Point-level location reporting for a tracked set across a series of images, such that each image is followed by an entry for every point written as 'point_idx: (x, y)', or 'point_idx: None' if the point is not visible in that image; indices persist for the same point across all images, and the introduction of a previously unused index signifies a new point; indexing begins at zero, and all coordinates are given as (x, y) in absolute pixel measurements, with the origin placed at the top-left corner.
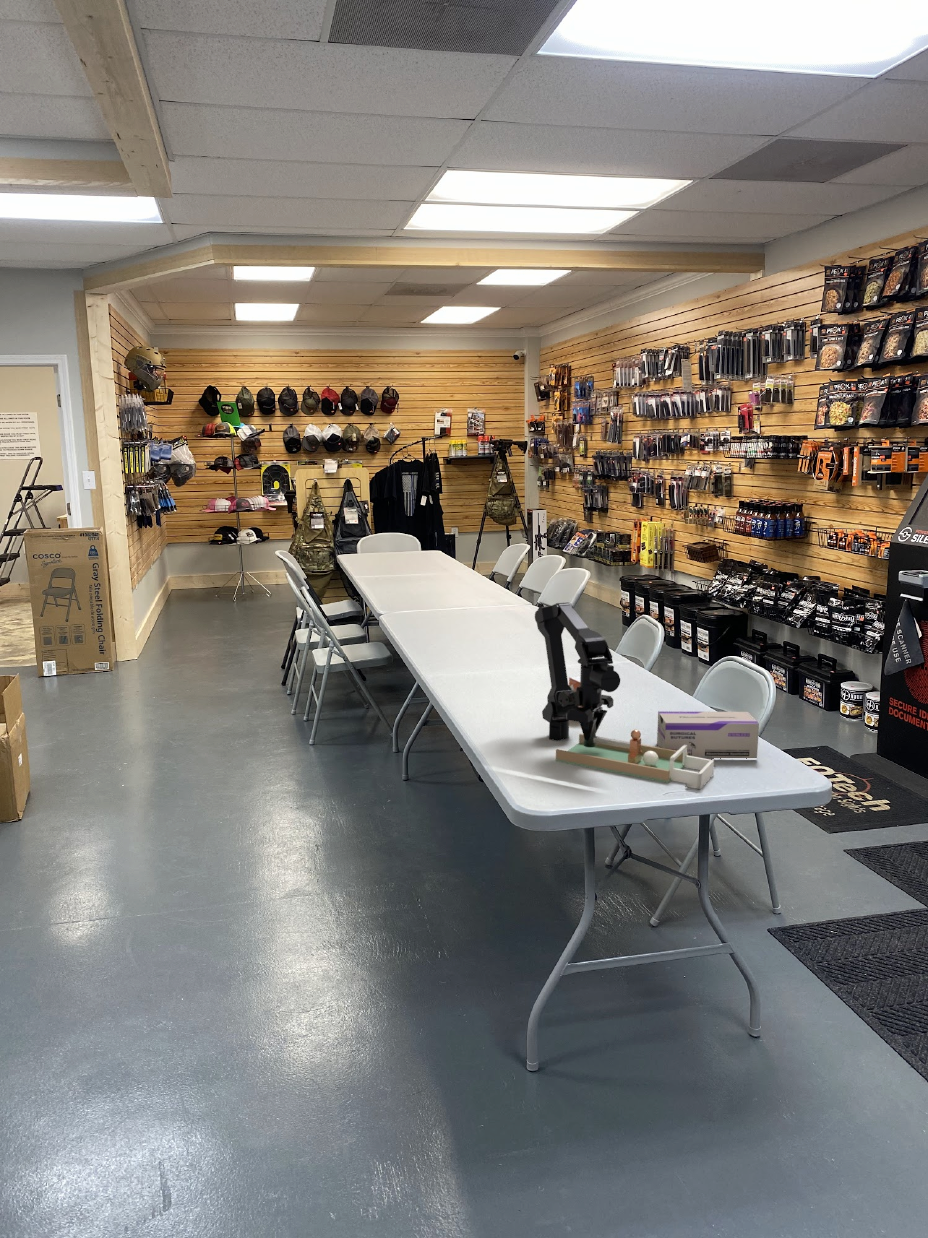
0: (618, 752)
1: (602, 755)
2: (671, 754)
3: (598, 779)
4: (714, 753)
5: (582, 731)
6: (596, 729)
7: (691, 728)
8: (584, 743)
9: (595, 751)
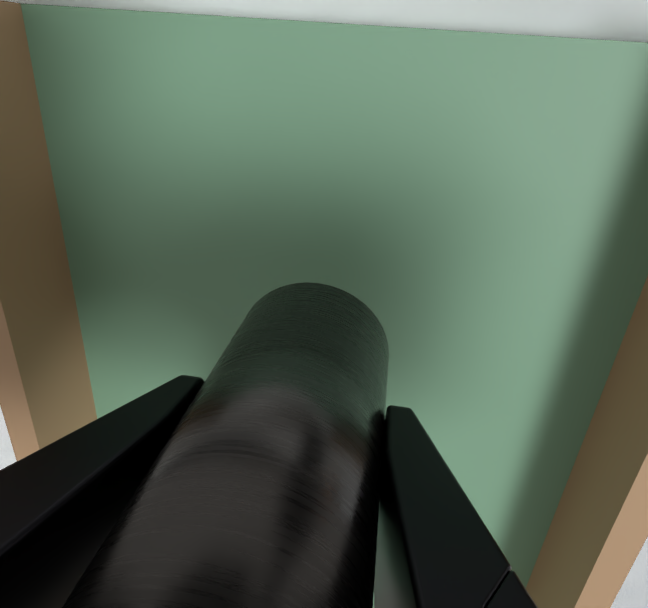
0: (491, 508)
1: None
2: None
3: (6, 427)
4: None
5: (42, 449)
6: (374, 596)
7: None
8: (240, 325)
9: (443, 335)
